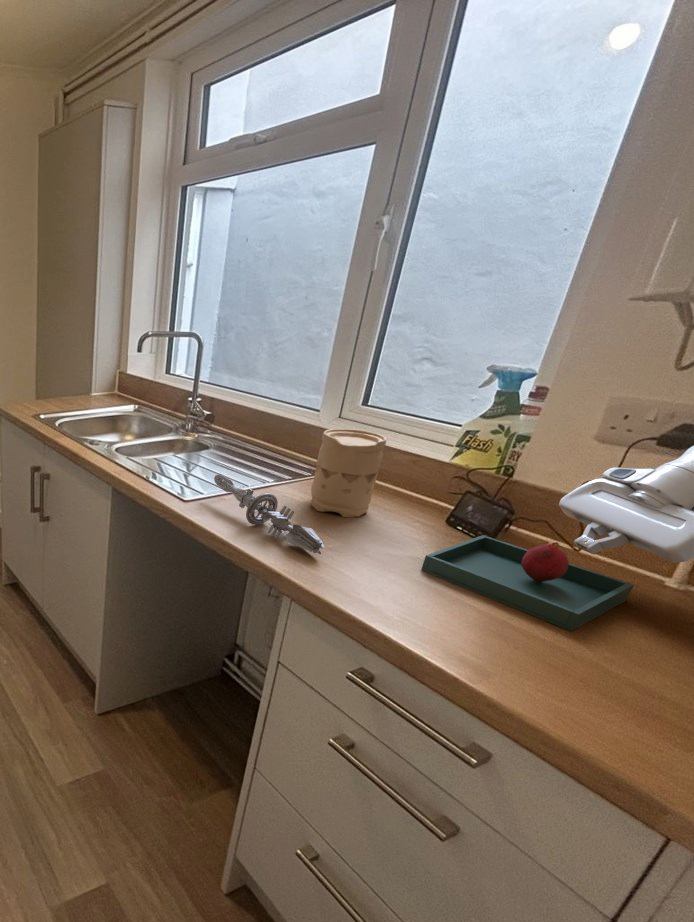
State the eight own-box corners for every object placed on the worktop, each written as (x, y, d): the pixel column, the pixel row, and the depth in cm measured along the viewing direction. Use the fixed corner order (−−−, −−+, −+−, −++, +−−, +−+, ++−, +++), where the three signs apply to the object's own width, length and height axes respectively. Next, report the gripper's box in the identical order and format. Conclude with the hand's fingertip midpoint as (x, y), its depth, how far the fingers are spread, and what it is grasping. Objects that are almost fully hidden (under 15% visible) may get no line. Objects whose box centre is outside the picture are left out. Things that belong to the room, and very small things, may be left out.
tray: (626, 600, 89) (634, 584, 88) (571, 631, 81) (578, 614, 80) (478, 548, 107) (483, 534, 106) (420, 569, 99) (425, 555, 98)
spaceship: (234, 466, 132) (211, 458, 129) (345, 537, 102) (319, 528, 99) (217, 494, 135) (195, 486, 131) (322, 570, 105) (296, 563, 102)
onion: (547, 593, 90) (565, 551, 87) (507, 577, 95) (523, 537, 92) (566, 586, 92) (584, 545, 89) (526, 571, 97) (542, 532, 94)
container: (372, 520, 120) (392, 444, 113) (310, 513, 124) (327, 439, 118) (361, 501, 131) (380, 431, 124) (305, 495, 135) (320, 426, 128)
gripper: (754, 536, 78) (654, 591, 82) (617, 488, 96) (541, 534, 101) (737, 508, 76) (636, 565, 80) (601, 464, 95) (525, 513, 99)
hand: (582, 548), depth 91 cm, fingers closed
